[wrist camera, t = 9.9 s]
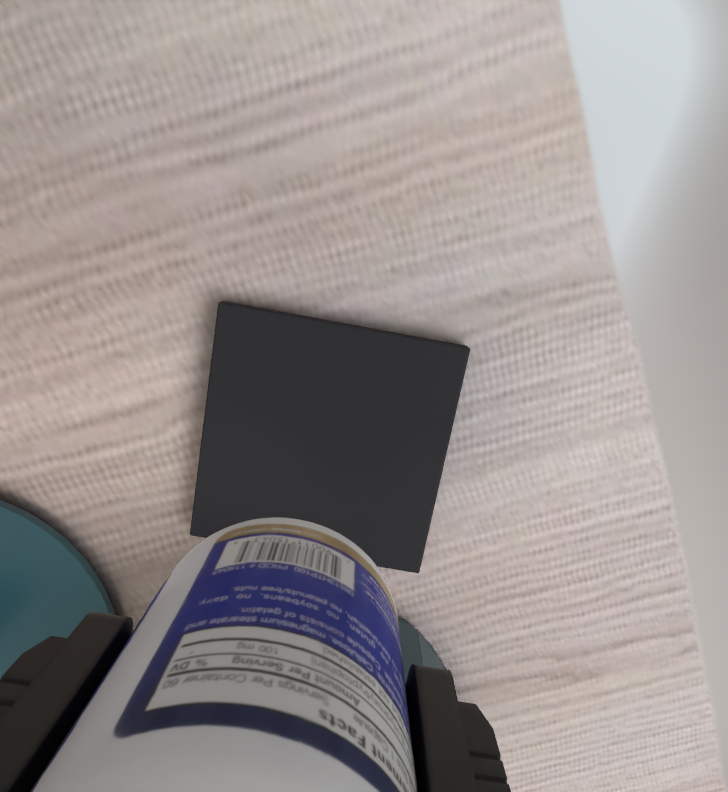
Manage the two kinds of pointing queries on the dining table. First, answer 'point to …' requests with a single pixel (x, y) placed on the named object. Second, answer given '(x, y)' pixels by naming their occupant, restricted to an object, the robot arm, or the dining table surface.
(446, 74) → the dining table surface
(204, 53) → the dining table surface
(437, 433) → the plate
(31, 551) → the pot lid
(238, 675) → the pill bottle
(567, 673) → the dining table surface
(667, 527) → the dining table surface
